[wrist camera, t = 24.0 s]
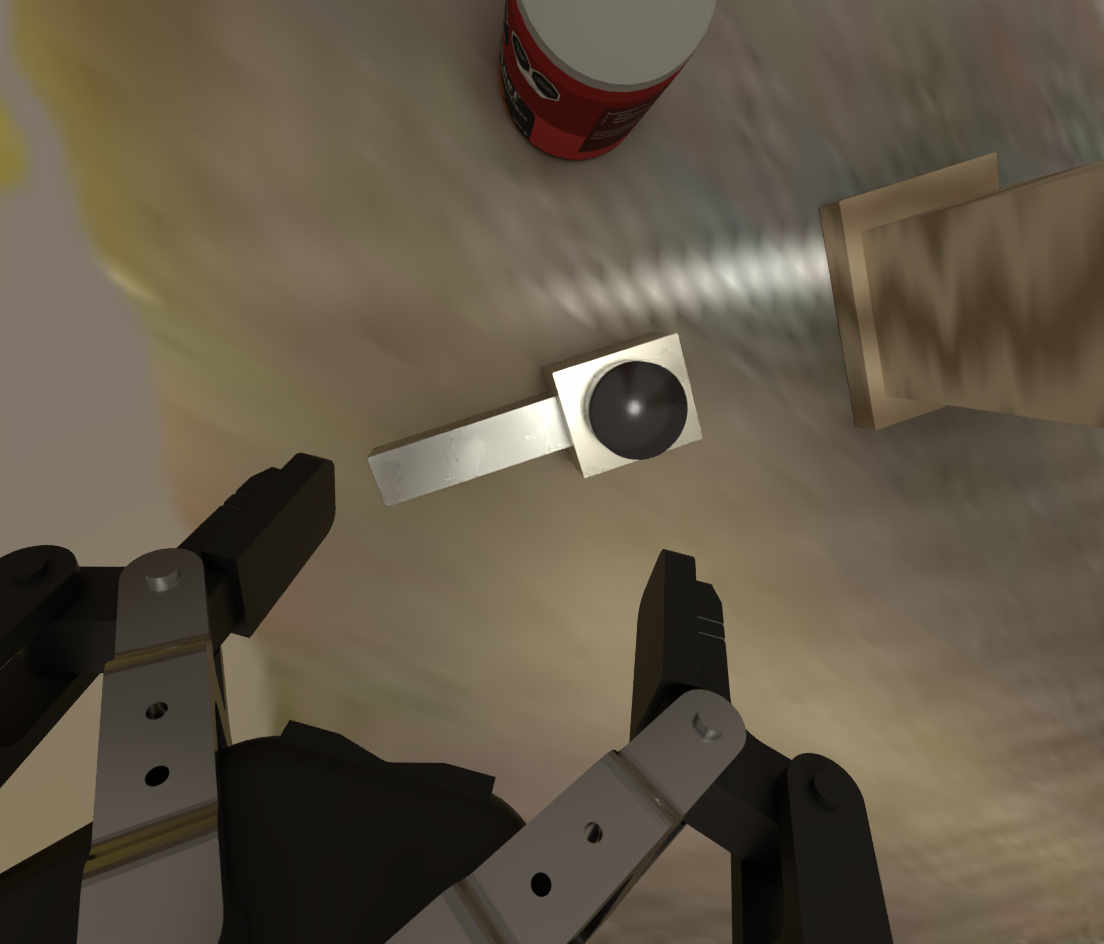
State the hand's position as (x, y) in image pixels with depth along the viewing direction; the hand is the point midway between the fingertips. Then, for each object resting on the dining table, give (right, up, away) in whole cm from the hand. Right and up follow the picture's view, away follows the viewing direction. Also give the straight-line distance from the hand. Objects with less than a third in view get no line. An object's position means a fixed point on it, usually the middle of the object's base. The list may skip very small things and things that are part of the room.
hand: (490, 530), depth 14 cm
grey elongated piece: (0, +4, +22) cm, 23 cm away
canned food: (+2, +23, +18) cm, 29 cm away
